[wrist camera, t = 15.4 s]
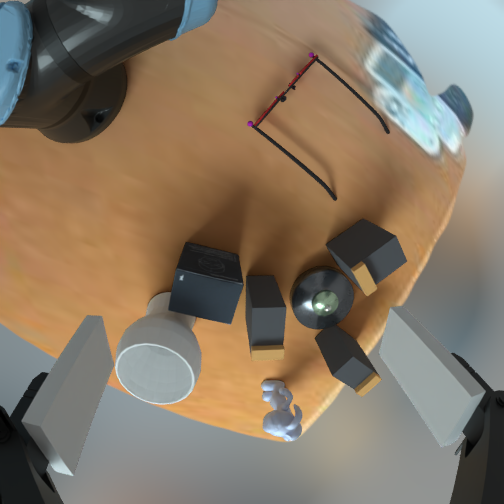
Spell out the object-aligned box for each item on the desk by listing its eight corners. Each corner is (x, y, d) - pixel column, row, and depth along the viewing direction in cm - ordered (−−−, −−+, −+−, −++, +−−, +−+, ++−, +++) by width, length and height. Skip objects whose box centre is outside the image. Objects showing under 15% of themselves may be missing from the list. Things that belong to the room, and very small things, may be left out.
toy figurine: (255, 377, 52) (263, 427, 41) (291, 372, 52) (306, 420, 41) (258, 403, 54) (266, 452, 43) (292, 398, 55) (305, 446, 43)
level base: (291, 266, 46) (297, 275, 43) (352, 265, 47) (361, 274, 44) (287, 323, 49) (292, 335, 46) (343, 319, 50) (351, 331, 46)
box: (177, 276, 45) (166, 311, 35) (186, 240, 44) (175, 267, 34) (229, 289, 46) (231, 326, 36) (239, 254, 45) (244, 284, 35)
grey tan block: (246, 275, 46) (253, 312, 35) (273, 275, 46) (287, 311, 36) (245, 317, 48) (251, 360, 37) (271, 317, 48) (283, 359, 38)
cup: (132, 284, 45) (100, 338, 31) (201, 281, 46) (193, 337, 31) (145, 343, 48) (124, 406, 34) (208, 341, 49) (205, 407, 35)
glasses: (306, 56, 37) (316, 45, 33) (388, 132, 42) (405, 131, 37) (244, 126, 40) (247, 122, 35) (334, 201, 44) (347, 207, 39)
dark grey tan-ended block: (363, 218, 45) (400, 238, 34) (374, 239, 46) (411, 263, 35) (325, 244, 45) (353, 271, 35) (337, 265, 47) (367, 296, 36)
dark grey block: (314, 338, 50) (334, 379, 40) (331, 321, 50) (355, 360, 39) (340, 356, 52) (362, 396, 42) (356, 341, 51) (381, 379, 41)
